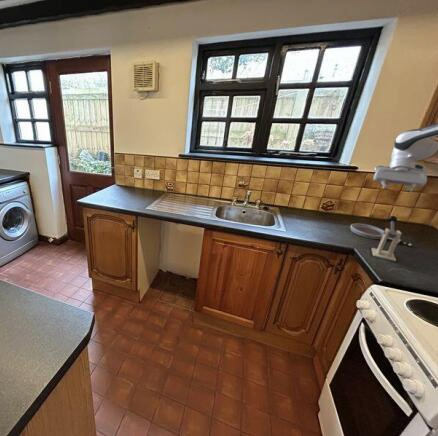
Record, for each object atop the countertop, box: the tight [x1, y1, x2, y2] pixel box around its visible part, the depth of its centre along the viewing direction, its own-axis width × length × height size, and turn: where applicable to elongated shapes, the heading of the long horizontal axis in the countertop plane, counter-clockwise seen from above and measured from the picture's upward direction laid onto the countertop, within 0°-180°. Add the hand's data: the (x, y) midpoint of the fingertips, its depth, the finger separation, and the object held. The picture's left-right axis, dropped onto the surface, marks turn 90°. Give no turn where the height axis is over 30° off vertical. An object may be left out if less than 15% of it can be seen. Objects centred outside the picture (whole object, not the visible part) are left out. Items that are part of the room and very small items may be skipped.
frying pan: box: [350, 223, 413, 247], centre depth 141 cm, size 17×3×28 cm
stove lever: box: [387, 215, 398, 239], centre depth 120 cm, size 14×4×4 cm, turn 144°
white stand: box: [371, 227, 402, 262], centre depth 119 cm, size 10×8×14 cm
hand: (396, 190), depth 127 cm, fingers open, 8 cm apart
